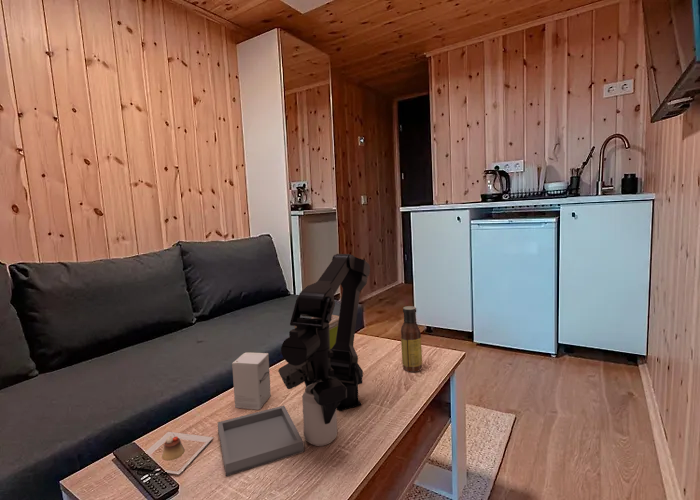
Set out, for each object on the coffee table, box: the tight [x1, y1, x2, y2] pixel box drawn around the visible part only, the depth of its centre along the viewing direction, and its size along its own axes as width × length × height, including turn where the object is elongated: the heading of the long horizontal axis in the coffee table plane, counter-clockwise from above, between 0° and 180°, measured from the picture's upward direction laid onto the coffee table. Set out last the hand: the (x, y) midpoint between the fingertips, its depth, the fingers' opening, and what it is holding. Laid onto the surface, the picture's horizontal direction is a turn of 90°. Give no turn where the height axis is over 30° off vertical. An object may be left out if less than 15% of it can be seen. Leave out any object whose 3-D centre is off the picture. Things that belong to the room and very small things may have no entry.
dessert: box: [144, 431, 214, 475], centre depth 81 cm, size 12×12×5 cm
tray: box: [217, 405, 305, 477], centre depth 84 cm, size 16×16×2 cm
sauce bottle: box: [400, 305, 423, 372], centre depth 117 cm, size 6×6×20 cm
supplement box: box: [231, 352, 272, 411], centre depth 100 cm, size 7×7×13 cm
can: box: [301, 382, 338, 447], centre depth 84 cm, size 8×8×12 cm
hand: (319, 412), depth 84 cm, fingers open, 9 cm apart
